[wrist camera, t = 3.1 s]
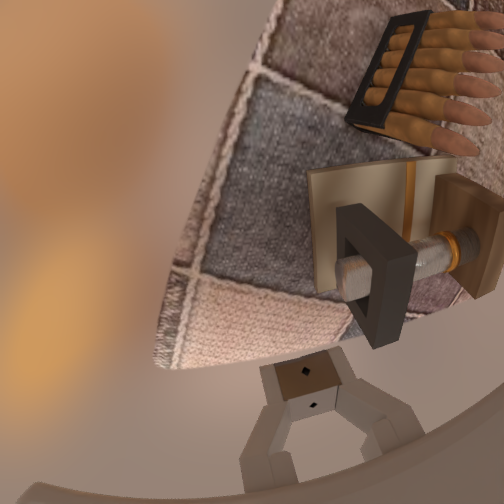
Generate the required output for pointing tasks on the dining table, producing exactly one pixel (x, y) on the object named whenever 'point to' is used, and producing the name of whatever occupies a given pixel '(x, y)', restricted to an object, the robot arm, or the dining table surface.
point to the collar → (377, 271)
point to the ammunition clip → (429, 78)
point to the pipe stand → (409, 211)
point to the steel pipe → (428, 263)
